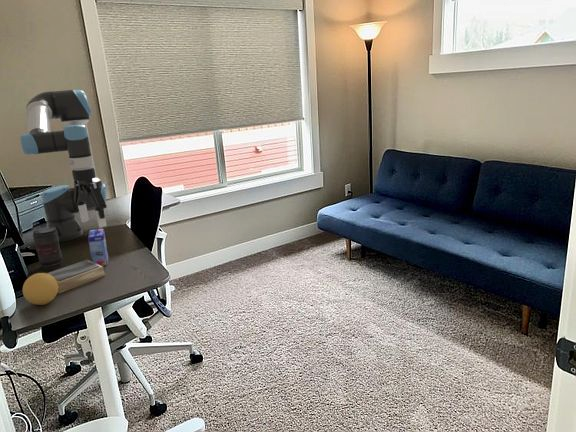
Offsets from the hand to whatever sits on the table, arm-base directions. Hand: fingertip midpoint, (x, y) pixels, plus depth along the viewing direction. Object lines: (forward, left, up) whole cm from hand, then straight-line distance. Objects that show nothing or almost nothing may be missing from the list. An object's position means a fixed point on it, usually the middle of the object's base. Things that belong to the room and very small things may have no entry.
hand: (93, 224), depth 166 cm
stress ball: (+17, -28, -16) cm, 36 cm away
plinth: (+8, -14, -16) cm, 22 cm away
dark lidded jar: (-13, -13, -16) cm, 24 cm away
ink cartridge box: (0, 0, -16) cm, 16 cm away
